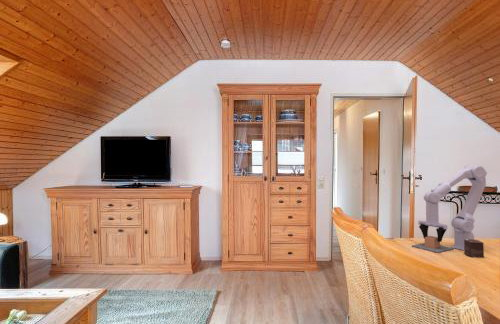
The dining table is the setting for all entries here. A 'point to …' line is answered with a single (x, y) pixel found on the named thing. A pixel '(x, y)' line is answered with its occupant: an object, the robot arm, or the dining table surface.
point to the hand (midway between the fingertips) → (432, 240)
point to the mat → (436, 250)
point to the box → (473, 248)
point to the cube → (432, 242)
